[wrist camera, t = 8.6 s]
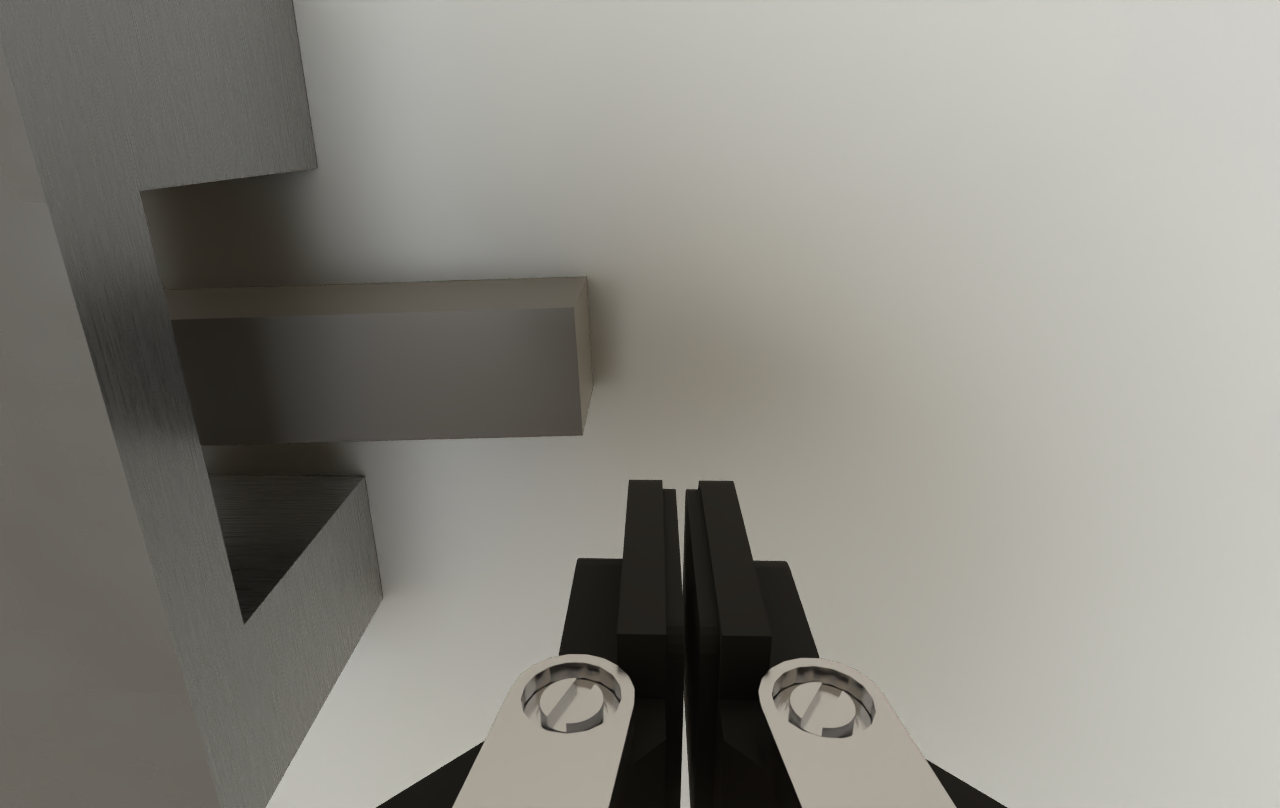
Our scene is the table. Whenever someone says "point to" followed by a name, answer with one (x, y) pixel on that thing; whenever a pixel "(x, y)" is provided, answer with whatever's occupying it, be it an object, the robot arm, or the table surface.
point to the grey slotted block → (147, 428)
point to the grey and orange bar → (385, 360)
